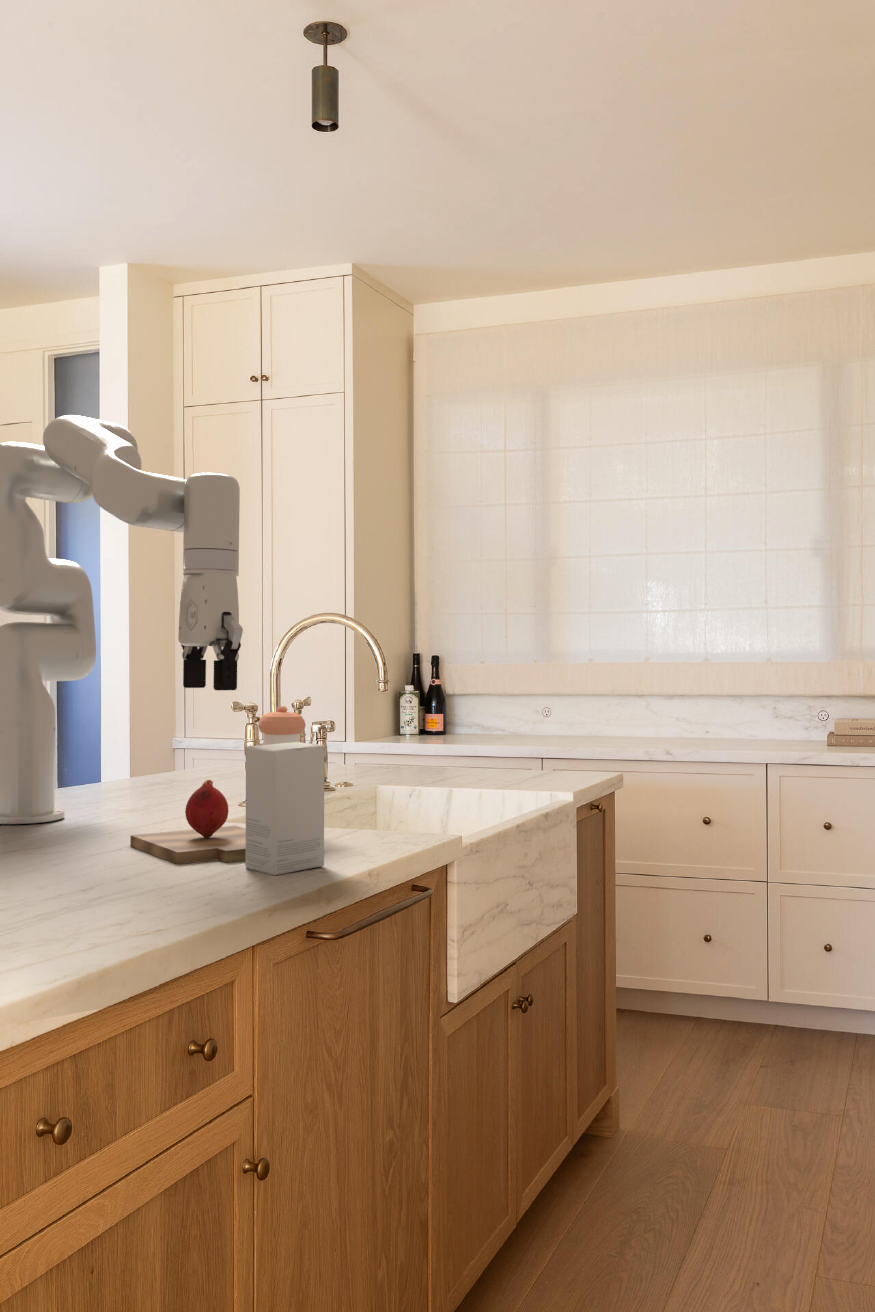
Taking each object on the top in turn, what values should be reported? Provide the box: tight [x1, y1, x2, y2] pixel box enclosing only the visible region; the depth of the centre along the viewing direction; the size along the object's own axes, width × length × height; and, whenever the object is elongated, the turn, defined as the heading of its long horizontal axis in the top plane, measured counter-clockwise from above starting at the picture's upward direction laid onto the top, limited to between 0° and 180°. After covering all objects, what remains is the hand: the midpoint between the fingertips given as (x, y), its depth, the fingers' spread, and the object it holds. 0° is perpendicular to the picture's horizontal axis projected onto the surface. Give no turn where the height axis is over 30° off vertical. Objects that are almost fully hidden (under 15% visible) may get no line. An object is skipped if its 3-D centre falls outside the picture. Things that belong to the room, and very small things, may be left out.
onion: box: [184, 779, 229, 838], centre depth 151 cm, size 6×6×8 cm
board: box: [129, 825, 246, 865], centre depth 150 cm, size 18×16×2 cm
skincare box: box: [244, 741, 326, 876], centre depth 138 cm, size 8×7×16 cm
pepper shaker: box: [257, 705, 307, 745], centre depth 164 cm, size 7×7×19 cm
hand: (209, 688), depth 151 cm, fingers open, 9 cm apart
